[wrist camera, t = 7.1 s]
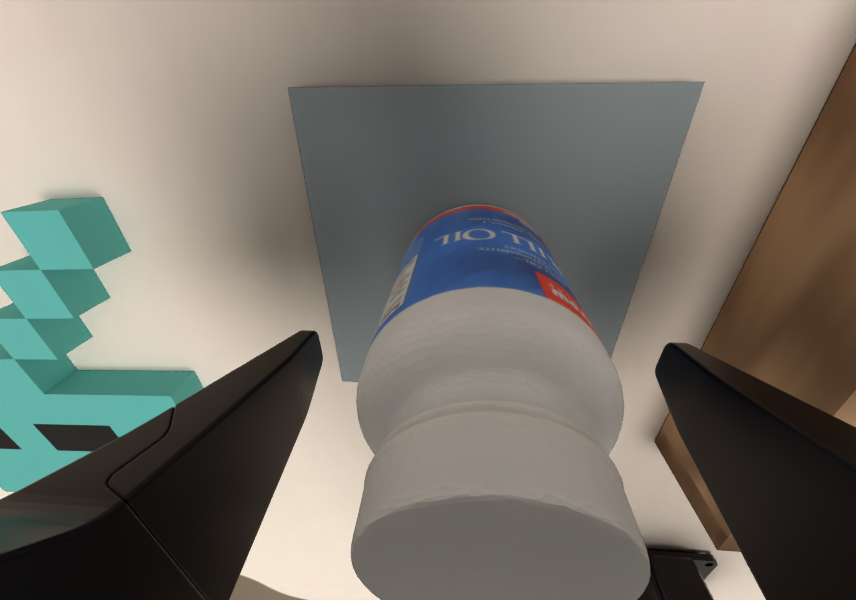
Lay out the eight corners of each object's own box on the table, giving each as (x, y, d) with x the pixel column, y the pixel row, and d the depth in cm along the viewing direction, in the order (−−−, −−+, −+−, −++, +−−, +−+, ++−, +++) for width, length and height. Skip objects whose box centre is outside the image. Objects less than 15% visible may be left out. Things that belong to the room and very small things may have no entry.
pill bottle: (575, 231, 12) (856, 544, 4) (508, 345, 15) (576, 675, 6) (428, 176, 11) (346, 396, 3) (385, 305, 14) (280, 610, 6)
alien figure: (-297, 210, 15) (6, 476, 25) (-403, 226, 13) (-31, 507, 24) (113, 194, 14) (262, 486, 24) (58, 210, 12) (245, 520, 22)
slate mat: (594, 382, 16) (599, 392, 16) (345, 372, 17) (342, 381, 16) (691, 82, 10) (704, 81, 10) (295, 87, 11) (287, 87, 10)
